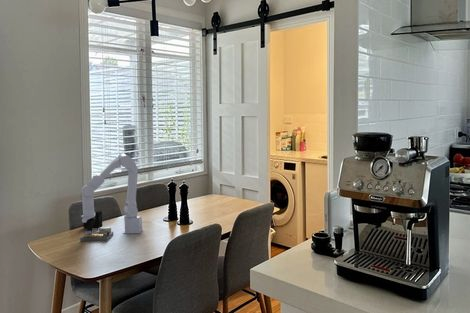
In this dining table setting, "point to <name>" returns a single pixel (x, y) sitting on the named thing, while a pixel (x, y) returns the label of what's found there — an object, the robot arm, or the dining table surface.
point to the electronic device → (97, 219)
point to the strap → (95, 235)
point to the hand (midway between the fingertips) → (89, 232)
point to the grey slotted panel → (94, 239)
